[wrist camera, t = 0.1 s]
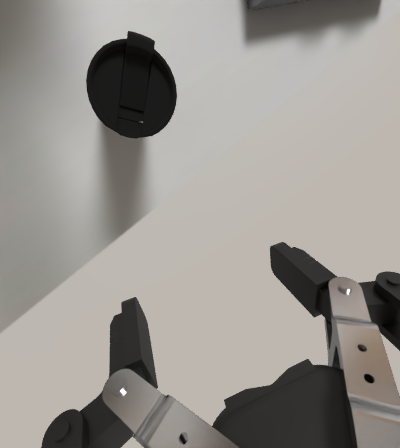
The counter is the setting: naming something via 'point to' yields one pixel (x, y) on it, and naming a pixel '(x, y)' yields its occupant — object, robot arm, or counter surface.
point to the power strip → (268, 3)
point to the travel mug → (131, 87)
